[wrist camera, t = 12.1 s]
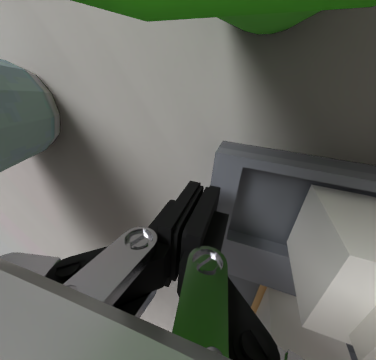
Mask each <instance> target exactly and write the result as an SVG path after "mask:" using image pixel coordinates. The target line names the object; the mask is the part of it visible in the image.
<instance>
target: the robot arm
mask: <svg viewBox="0 0 376 360" xmlns="http://www.w3.org/2000/svg"><path fill="white" fill-rule="evenodd" d="M220 189H221V187H216V186H212V185H210V187H206V188H205V190H204V192H203V186H200V183H198V182H194V181H190V182H189V183H188V185H187V186H186V187H185V189H184V190H183V191H182V193H181V194H180V196H179V197H178V198H177V200H176V201H175V200H170V201H169V202H168V203H167V204H166V206H165V207H164V208H163V209H162V211H161V212H160V213H159V214H158V216H157V217H156V218H155V220H154V221H153V222H152V223H151V225H150V226H149V227H148V228H147V227H134V228H132V229H129V230H128V231H126V232H125V233H124V234H122V235H121V236H120V237H119V238H118V239H116V240H115V241H114V242H113V243H112V244H110V245H109V246H107V247H104V248H100V249H97V250H93V251H89V252H86V253H82V254H78V255H75V256H71V257H68V258H65V259H63V260H61V259H60V258H59V257H51V256H43V255H34V254H26V253H9V254H5V255H2V256H0V360H305V359H303V358H302V357H300V356H299V355H297V354H295V353H294V352H292V351H291V350H289V349H288V351H287V352H286V351H285V350H283V349H282V348H280V347H279V346H277V345H276V343H275V341H274V339H273V338H272V336H271V335H270V333H269V332H268V331H267V329H266V328H265V326H264V325H263V324H262V322H261V321H260V320H259V318H258V317H257V315H256V314H255V313H254V311H253V310H252V309H251V307H250V306H249V304H248V303H247V302H246V300H245V299H244V298H243V296H242V295H241V293H240V292H239V291H238V289H237V288H236V287H235V285H234V284H233V282H232V281H231V280H230V278H229V277H228V265H227V260H226V258H225V256H224V255H223V254H222V253H221V249H222V245H223V240H224V236H225V232H226V227H227V222H228V218H229V214H226V213H222V212H218V211H217V206H218V201H219V195H220ZM178 274H179V276H178ZM177 277H178V288H177V293H178V295H179V303H178V307H177V312H176V317H175V321H174V326H173V331H172V333H171V332H169V331H167V330H165V329H162V328H160V327H158V326H156V325H153V324H151V323H149V322H147V321H144V320H142V319H140V317H141V315H142V314H143V312H144V311H145V309H146V308H147V306H148V305H149V303H150V302H151V300H152V299H153V297H154V296H155V294H156V291H157V289H160V288H162V287H163V286H166V287H169V285H170V283H171V281H176V279H177Z"/></svg>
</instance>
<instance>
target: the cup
mask: <svg viewBox="0 0 376 360" xmlns="http://www.w3.org/2000/svg"><path fill="white" fill-rule="evenodd" d="M72 1H76V2H79V3H83V4H86V5H90V6H94V7H97V8H101V9H104V10H108V11H111V12H115V13H119V14H122V15H126V16H129V17H133V18H136V19H140V20H143V21H163V20H178V19H193V18H209V17H217V18H219V19H222V20H224V21H226V22H228V23H230V24H232V25H234V26H236V27H238V28H240V29H242V30H244V31H247V32H251V33H255V34H273V33H276V32H280V31H283V30H286V29H289V28H290V27H292V26H294V25H296V24H298V23H299V22H301V21H303V20H305V19H307V18H309V17H310V16H312V15H314V14H316V13H318V12H320V11H321V10H332V9H348V8H363V7H373V6H376V0H72Z"/></svg>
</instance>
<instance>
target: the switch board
mask: <svg viewBox="0 0 376 360" xmlns="http://www.w3.org/2000/svg"><path fill="white" fill-rule="evenodd" d="M311 184H312V185H317V186H322V187H327V188H332V189H337V190H342V191H347V192H352V193H357V194H362V195H367V196H372V197H376V166H373V165H367V164H361V163H355V162H349V161H343V160H337V159H331V158H325V157H319V156H312V155H306V154H300V153H294V152H288V151H282V150H276V149H270V148H264V147H258V146H252V145H246V144H239V143H233V142H227V141H223V142H222V143H221V145H220V146H219V148H218V149H217V151H216V153H215V159H214V166H213V172H212V179H211V185H212V186H216V187H221V189H220V195H219V201H218V206H217V211H218V212H222V213H226V214H229V218H228V222H227V227H226V232H225V236H224V240H223V245H222V249H221V253H222V254H223V255H224V256H225V258H226V260H227V265H228V277H229V278H230V280H231V281H232V282H233V284H234V285H235V287H236V288H237V289H238V291H239V292H240V293H241V295H242V296H243V298H244V299H245V300H246V302H247V303H248V304H249V306H250V307H251V309H252V310H253V311H254V313H255V314H256V312H257V309H258V307H259V305H260V302H261V300H262V298H263V295H264V293H265V291H266V288H267V287H269V288H272V289H275V290H278V291H281V292H284V293H287V294H290V295H293V296H295V297H296V292H295V286H294V281H293V275H292V270H291V264H290V258H289V253H288V247H287V240H288V238H289V235H290V233H291V231H292V228H293V226H294V224H295V221H296V219H297V217H298V214H299V212H300V210H301V207H302V205H303V203H304V201H305V198H306V196H307V194H308V191H309V189H310V187H311ZM346 345H347V348H348V351H349V354H350V357H351V360H358V359H357V356H356V353H355V350H354V348H353V346H352V345H350V344H347V343H346Z"/></svg>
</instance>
